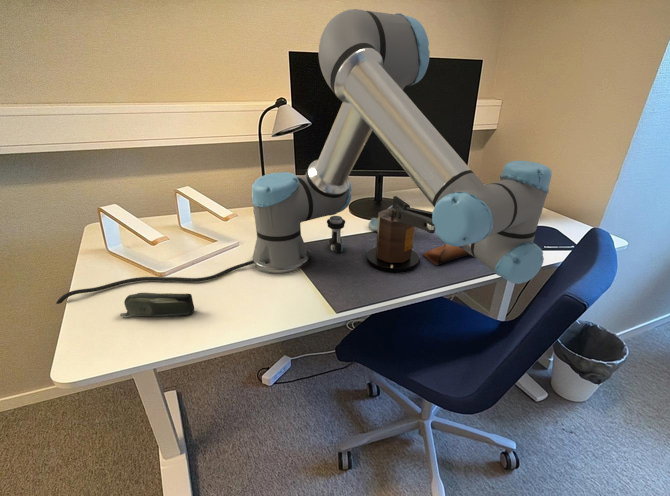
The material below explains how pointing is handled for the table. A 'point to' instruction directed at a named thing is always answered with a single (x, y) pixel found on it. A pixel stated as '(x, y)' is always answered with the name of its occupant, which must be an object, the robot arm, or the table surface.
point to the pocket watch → (375, 222)
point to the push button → (336, 233)
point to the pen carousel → (393, 238)
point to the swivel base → (392, 267)
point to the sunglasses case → (445, 254)
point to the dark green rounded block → (158, 304)
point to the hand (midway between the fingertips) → (419, 199)
